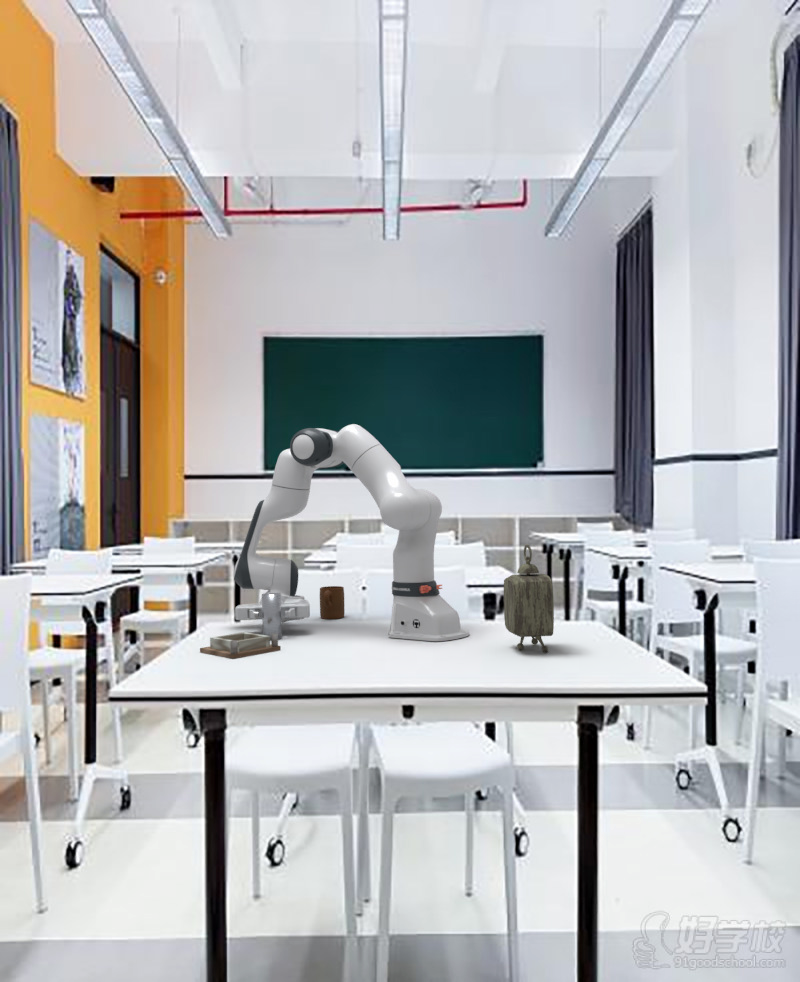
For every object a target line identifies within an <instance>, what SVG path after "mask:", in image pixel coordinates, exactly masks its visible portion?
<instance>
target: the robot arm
mask: <svg viewBox="0 0 800 982" xmlns="http://www.w3.org/2000/svg"><path fill="white" fill-rule="evenodd" d="M289 443H290V444H289V448H287V449H283V450H282V451H281V452H280V453H279V455H278V457H277V461H276V464H275V466H274V471H273V476H272V482H271V488H270V490H269V493H268V495H267V496H266V497H265V499H262V500H260V501H259V502H258V503H257V505H256V507H255V510H254V513H253V515H252V519H251V522H250V524H249V527H248V531H247V534H246V536H245V540H244V544H243V546H242V549H241V553H240V556H239V557H238V559H237V561H236V562H235V566H234V569H233V580H234V581H235V583H236V584H237V585H238V586H239V587H240V588H241V589H243V590H255V589H256V590H264V591H266V592H265V593H281V624H282V623H285V622H289V621H297V620H298V621H299V620H303V619H306V618H310V617H311V608H310V607H311V606H310V603H309V601H308V600H307V599H305V596H304V595H296V594H297V591H298V584H299V568H298V566H297V564H296V562H294V560H293V559H289V558H282V557H271V556H263V555H259V554H257V549H258V546H259V543H260V539H261V536H262V533H263V531H264V529H265V527H267V526H268V525H270V523H274V522H277V521H281V520H285V519H289V518H291V517H294V516H297V515H299V514H300V513H302V512H303V511H304V510H305V508H306V507H307V505H308V501H309V497H310V491H311V484H312V477H313V474H315V473H314V472H315V471H316V470H318V469H320V470H325V469H331V468H336V467H340V466H341V465H343V464H345V465H346V466H347V467H348V469H350V471H351V473H353V474H354V476H355V477H356V478H357V479H358V480H359V481H360V483H361V484H362V485H363V486H364V487H365V488H366V490H367V491H368V492H369V493H370V495H371V497H372V499H373V500H374V502H375V504H376V505H377V507H378V509H379V513H380V517H381V519H382V521H383V523H385V525H386V526H387V527H389V528H391V529H393V530H396V531H398V535H397V540H396V544H395V546H394V549H393V552H392V568H393V569H392V572H393V573H392V575H393V577H392V578H393V581H392V582H391V595H392V597H393V600H392V601H393V602H392V606H391V607H392V609H391V619H390V626H389V630H388V637H389V638H393V639H406V640H413V641H414V640H416V641H428V642H445V641H452V640H458V639H461V638H463V639H464V638H466V637H468V636H470V631H469V630H466V629H465V630H464V629H461V621H460V615H459V613H458V611H457V610H456V609H455V608H454V607H452V606H451V605H450V604H449V603H448V602H447V600H445V599H444V598H443V597H442V596H441V593H440V591H439V590H442V589H443V584H437V582H436V580H435V569H434V568H435V564H434V563H435V559H434V558H435V556H434V555H435V545H436V538H437V532H438V524H439V520H440V518H441V515H442V512H443V506H442V502H441V500H440V499H439V498H438V496H437V495H435V494H434V493H432V492H431V491H429V490H428V489H422V488H421V489H420V488H419V489H418V488H417V489H416V488H414V487H413V486H412V485H411V484H410V483H409V482H408V480H407V478H406V476H405V475H404V473H403V471H402V466H401V465H400V464H399V463H398V461H397V460H396V459H395V458H394V457H393V456H392V455H391V453H389V451H387V449H386V448H385V447H384V446H383V445H382V444H381V443H380V442H379V440H378V439H376V437H375V436H374V435H372V434H371V433H370V432H369V431H368V430H367V429H365V428H364V427H362V426H361V425H360V424H359V425H358V424H355V423H352V424H348V425H346V426H344V427H342V428H341V429H339V431H338V430H331V429H326V428H322V427H321V428H319V427H317V428H316V427H315V428H314V427H313V428H312V427H308V428H307V427H306V428H303V429H301V430H298V431H297V432H296V433H294V435H293V436H292V437H291V440H290V442H289ZM234 617H235V618H234V619H235V620H236V621H251V620H252V621H258V620H262V597H261V598H260V600H259V602H258V603H243V604H238V605H237V606H235V609H234Z"/></svg>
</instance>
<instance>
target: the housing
mask: <svg viewBox="0 0 800 982" xmlns="http://www.w3.org/2000/svg"><path fill="white" fill-rule="evenodd" d="M209 643H210V644H209V646H206V647H200V648H199V653H202V654H208V655H213V656H217V657H221V658H228V659H232V660H236V659H239V658H245V657H250V656H257V655H260V654H261V655H262V654H267V653H272V652H278V651H281V645H279V640H278V634H276V633H275V634H271V641H270V636H266V635H263V634H261V633H260V634H259V633H252V632H246V631H244V632H238V633H237V632H236V633H232V634H224V635H220V636H219V635H218V636H213V637H210V638H209Z"/></svg>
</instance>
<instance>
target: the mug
mask: <svg viewBox="0 0 800 982" xmlns="http://www.w3.org/2000/svg"><path fill="white" fill-rule="evenodd" d="M319 613H320V614H319V616H320V618H321V619H323V620H339V619H343V618H345V588H344V586H340V585H336V586H335V585H334V586H333V585H330V586H328V585H327V586H321V587H319Z"/></svg>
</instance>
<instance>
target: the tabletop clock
mask: <svg viewBox="0 0 800 982" xmlns="http://www.w3.org/2000/svg"><path fill="white" fill-rule="evenodd" d="M527 549H528V552H529V556H528V555H527ZM532 555H533V553H532V547H531V546H530V545H529V544H525V545H524V547H523V557H524V558H523V559H524V561H525V563H523V564H521V565H520V566H519V568H518V569H517V574H512V575H510V576H507V577H506V578H504V579H503V615H504V626H505V628H506V630H507V631H508V632H509V633H511V634H513V635H515V636H517V637H519V638H520V640H519V641H520V642H519V643H517V645H516V648H517V649H518V650H520V651H523V650H524V647H525V645H524V639H525V638H527V637H531V638H532V639H531V641H530V642H531V644H532V645H535V646H536V645H538V644H540V646H541V652H542V653H543V654H545V653H548V652H549V646H547V645H545V644H544V641H543V639H542V637H551V636H553V635H554V630H555V629H554V628H555V626H554V624H555V623H554V622H555V619H554V616H555V614H554V613H555V608H554V606H555V605H554V590H553V581H552V579H551V577H550V576H549V575H547V574H546V573H540V571H539V569H538V567H537V566H536V565H535V564H532V563H531V562H532V557H533V556H532ZM538 642H539V643H538Z"/></svg>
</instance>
